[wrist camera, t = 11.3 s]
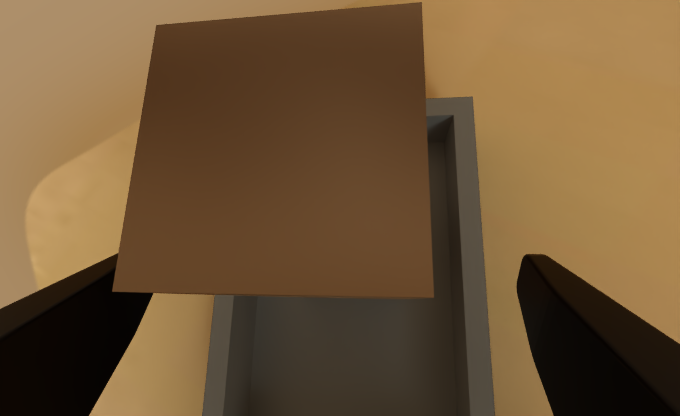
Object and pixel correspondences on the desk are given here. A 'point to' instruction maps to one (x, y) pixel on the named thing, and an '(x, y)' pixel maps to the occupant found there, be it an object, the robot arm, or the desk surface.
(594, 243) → the desk surface
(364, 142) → the walnut block
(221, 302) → the tray
